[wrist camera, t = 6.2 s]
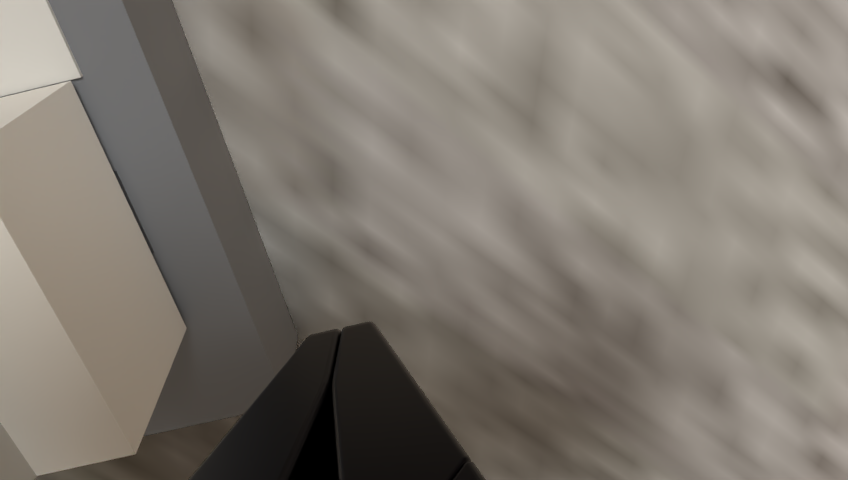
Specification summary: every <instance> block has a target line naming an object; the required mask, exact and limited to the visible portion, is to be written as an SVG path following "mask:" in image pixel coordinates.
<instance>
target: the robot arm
mask: <svg viewBox="0 0 848 480" xmlns="http://www.w3.org/2000/svg"><path fill="white" fill-rule="evenodd" d="M189 480H485V478H484V477H483V476H482V474H481V473H480V471H479V470H478V469H477V467H476V466H475V464H474V463H473V462H471V460H470V458H469V456H468V455H467V454H466V452H465V451H464V449H463V448H462V447H461V445H460V444H459V442H458V441H457V439H456V438H455V437H454V435H453V434H452V432H451V431H450V430H449V428H448V427H447V425H446V424H445V422H444V421H443V420H442V418H441V417H440V415H439V414H438V413H437V411H436V410H435V408H434V407H433V406H432V404H431V403H430V401H429V400H428V398H427V397H426V396H425V394H424V393H423V391H422V390H421V389H420V387H419V386H418V384H417V383H416V381H415V380H414V379H413V377H412V376H411V374H410V373H409V372H408V370H407V369H406V367H405V366H404V364H403V363H402V362H401V360H400V359H399V357H398V356H397V355H396V353H395V352H394V350H393V349H392V348H391V346H390V345H389V343H388V342H387V340H386V339H385V338H384V336H383V335H382V333H381V332H380V331H379V329H378V328H377V326H376V325H375V324H374V323H373V322H365V323H360V324H356V325H351V326H347V327H345V328H343V329H342V332H341V331H340V330H338V329H334V330H329V331H325V332H320V333H316V334H312V335H310V336H309V337H307V338H306V340H305V341H304V342H303V343H302V344H301V346H300V347H299V348H298V349H297V350H296V352H295V353H294V354H293V355H292V356H291V358H290V359H289V360H288V361H287V362H286V364H285V365H284V366H283V367H282V368H281V370H280V371H279V372H278V373H277V374H276V376H275V377H274V378H273V379H272V380H271V382H270V383H269V384H268V385H267V386H266V388H265V389H264V390H263V391H262V392H261V394H260V395H259V396H258V397H257V398H256V400H255V401H254V402H253V403H252V404H251V406H250V407H249V408H248V409H247V410H246V412H245V413H244V414H243V415H242V416H241V418H240V419H239V420H238V421H237V422H236V424H235V425H234V426H233V427H232V428H231V429H230V431H229V432H228V433H227V434H226V435H225V437H224V438H223V439H222V440H221V441H220V443H219V444H218V445H217V446H216V447H215V449H214V450H213V451H212V452H211V453H210V455H209V456H208V457H207V458H206V459H205V461H204V462H203V463H202V464H201V465H200V467H199V468H198V469H197V470H196V471H195V473H194V474H193V475H192V476H191V477H190V479H189Z"/></svg>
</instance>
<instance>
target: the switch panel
mask: <svg viewBox="0 0 848 480" xmlns="http://www.w3.org/2000/svg"><path fill="white" fill-rule="evenodd" d="M68 81H71V82H72V84H73V86H74V89H75V91H76V93H77V95H78V97H79V99H80V101H81V104H82V106H83V108H84V110H85V112H86V114H87V116H88V118H89V121H90V123H91V125H92V127H93V129H94V131H95V133H96V136H97V138H98V140H99V142H100V144H101V146H102V148H103V151H104V153H105V155H106V157H107V159H108V161H109V163H110V165H111V168H112V170H113V172H114V174H115V176H116V178H117V180H118V183H119V185H120V187H121V189H122V191H123V193H124V195H125V198H126V200H127V202H128V204H129V206H130V208H131V210H132V212H133V215H134V217H135V219H136V221H137V223H138V225H139V227H140V230H141V232H142V234H143V236H144V238H145V240H146V242H147V245H148V247H149V249H150V251H151V253H152V255H153V257H154V259H155V262H156V264H157V266H158V268H159V270H160V272H161V274H162V277H163V279H164V281H165V283H166V285H167V287H168V289H169V292H170V294H171V296H172V298H173V300H174V302H175V304H176V306H177V309H178V311H179V313H180V315H181V317H182V319H183V321H184V324H185V326H186V328H187V329H186V331H185V334H184V336H183V339H182V341H181V344H180V346H179V349H178V351H177V354H176V356H175V358H174V361H173V363H172V366H171V368H170V371H169V373H168V376H167V378H166V381H165V383H164V386H163V388H162V391H161V393H160V396H159V398H158V401H157V403H156V406H155V408H154V411H153V413H152V416H151V418H150V420H149V423H148V425H147V428H146V430H145V433H144V435H143V436H147V435H152V434H157V433H161V432H166V431H170V430H175V429H179V428H184V427H188V426H193V425H198V424H202V423H207V422H211V421H216V420H220V419H225V418H229V417H234V416H238V415H243V414H244V413H245V412H246V410H247V409H248V408H249V407H250V406H251V404H252V403H253V402H254V401H255V400H256V398H257V397H258V396H259V395H260V394H261V392H262V391H263V390H264V389H265V388H266V386H267V385H268V384H269V383H270V382H271V380H272V379H273V378H274V377H275V376H276V374H277V373H278V372H279V371H280V370H281V368H282V367H283V366H284V365H285V364H286V362H287V361H288V360H289V359H290V358H291V356H292V355H293V354H294V353H295V352H296V345H297V338H298V335H297V332H296V330H295V327H294V325H293V322H292V319H291V317H290V314H289V311H288V309H287V306H286V303H285V301H284V298H283V295H282V293H281V290H280V287H279V285H278V282H277V279H276V277H275V274H274V271H273V269H272V266H271V263H270V261H269V258H268V255H267V253H266V250H265V247H264V245H263V242H262V239H261V237H260V234H259V231H258V229H257V226H256V223H255V221H254V218H253V216H252V213H251V210H250V208H249V205H248V202H247V200H246V197H245V194H244V192H243V189H242V186H241V184H240V181H239V178H238V176H237V173H236V170H235V168H234V165H233V162H232V160H231V157H230V154H229V152H228V149H227V146H226V144H225V141H224V138H223V136H222V133H221V130H220V128H219V125H218V122H217V120H216V117H215V114H214V112H213V109H212V107H211V104H210V101H209V99H208V96H207V93H206V91H205V88H204V85H203V83H202V80H201V77H200V75H199V72H198V69H197V67H196V64H195V61H194V59H193V56H192V53H191V51H190V48H189V45H188V43H187V40H186V37H185V35H184V32H183V29H182V27H181V24H180V21H179V19H178V16H177V13H176V11H175V8H174V5H173V3H172V0H0V98H1V97H5V96H9V95H14V94H18V93H22V92H26V91H30V90H34V89H38V88H43V87H47V86H51V85H55V84H59V83H63V82H68Z"/></svg>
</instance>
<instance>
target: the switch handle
mask: <svg viewBox="0 0 848 480" xmlns="http://www.w3.org/2000/svg"><path fill="white" fill-rule="evenodd" d="M186 329H187V328H186V326H185V324H184V321H183V319H182V317H181V315H180V313H179V311H178V309H177V306H176V304H175V302H174V300H173V298H172V296H171V294H170V292H169V289H168V287H167V285H166V283H165V281H164V279H163V277H162V274H161V272H160V270H159V268H158V266H157V264H156V262H155V259H154V257H153V255H152V253H151V251H150V249H149V247H148V245H147V242H146V240H145V238H144V236H143V234H142V232H141V230H140V227H139V225H138V223H137V221H136V219H135V217H134V215H133V212H132V210H131V208H130V206H129V204H128V202H127V200H126V198H125V195H124V193H123V191H122V189H121V187H120V185H119V183H118V180H117V178H116V176H115V174H114V172H113V170H112V168H111V165H110V163H109V161H108V159H107V157H106V155H105V153H104V151H103V148H102V146H101V144H100V142H99V140H98V138H97V136H96V133H95V131H94V129H93V127H92V125H91V123H90V121H89V118H88V116H87V114H86V112H85V110H84V108H83V106H82V104H81V101H80V99H79V97H78V95H77V93H76V91H75V89H74V86H73V84H72V82H71V81H68V82H63V83H59V84H55V85H51V86H47V87H43V88H38V89H34V90H30V91H26V92H22V93H18V94H14V95H9V96H5V97H1V98H0V480H35V478H36V477H37V476H39V475H44V474H48V473H53V472H57V471H62V470H66V469H71V468H76V467H80V466H85V465H89V464H94V463H98V462H103V461H107V460H112V459H117V458H121V457H126V456H130V455H135V454H136V453H137V450H138V448H139V445H140V443H141V440H142V438H143V435H144V433H145V430H146V428H147V425H148V423H149V420H150V418H151V416H152V413H153V411H154V408H155V406H156V403H157V401H158V398H159V396H160V393H161V391H162V388H163V386H164V383H165V381H166V378H167V376H168V373H169V371H170V368H171V366H172V363H173V361H174V358H175V356H176V354H177V351H178V349H179V346H180V344H181V341H182V339H183V336H184V334H185V331H186Z"/></svg>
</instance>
